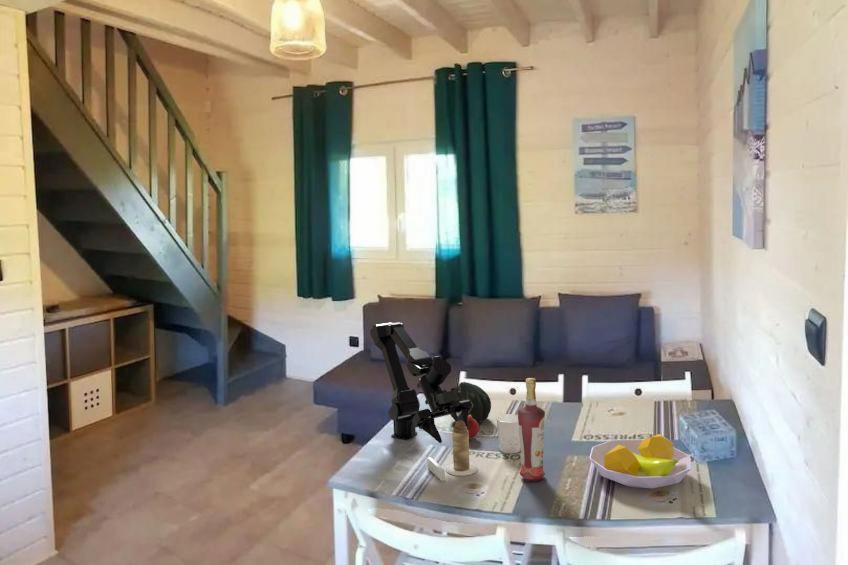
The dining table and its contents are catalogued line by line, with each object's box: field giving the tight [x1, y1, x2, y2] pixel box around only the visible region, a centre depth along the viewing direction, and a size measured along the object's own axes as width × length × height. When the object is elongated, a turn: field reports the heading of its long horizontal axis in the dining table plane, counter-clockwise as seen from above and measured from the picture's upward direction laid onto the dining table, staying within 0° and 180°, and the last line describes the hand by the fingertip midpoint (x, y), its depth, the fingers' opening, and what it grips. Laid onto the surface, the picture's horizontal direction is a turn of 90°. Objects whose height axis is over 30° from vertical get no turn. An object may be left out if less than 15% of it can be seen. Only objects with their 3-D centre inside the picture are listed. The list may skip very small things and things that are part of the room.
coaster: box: [445, 462, 478, 477], centre depth 187 cm, size 9×9×1 cm
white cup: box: [496, 413, 520, 454], centre depth 200 cm, size 8×8×10 cm
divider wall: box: [427, 457, 446, 482], centre depth 185 cm, size 10×1×3 cm, turn 22°
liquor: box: [517, 377, 546, 482], centre depth 178 cm, size 7×7×28 cm
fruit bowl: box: [588, 433, 692, 489], centre depth 176 cm, size 28×27×11 cm
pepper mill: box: [452, 420, 470, 471], centre depth 186 cm, size 5×5×14 cm
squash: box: [449, 381, 492, 425], centre depth 227 cm, size 14×15×15 cm
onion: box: [467, 415, 480, 440], centre depth 210 cm, size 6×6×8 cm
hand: (454, 439), depth 189 cm, fingers open, 9 cm apart
